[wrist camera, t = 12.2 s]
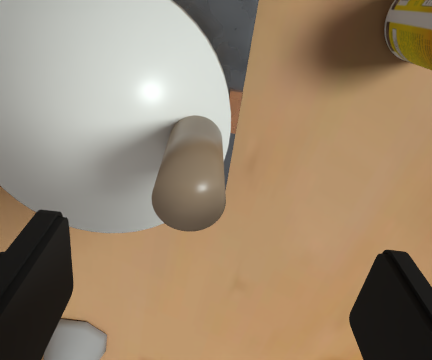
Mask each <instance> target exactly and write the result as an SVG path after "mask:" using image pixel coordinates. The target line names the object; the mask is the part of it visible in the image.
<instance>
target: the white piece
mask: <svg viewBox="0 0 432 360" xmlns="http://www.w3.org/2000/svg"><path fill="white" fill-rule="evenodd" d="M230 132H231V110H230V102H229V94H228V87H227V83H226V79H225V75H224V72H223V69H222V66H221V64H220V61H219V59H218V56H217V54H216V52H215V50H214V49H213V47H212V45H211V43H210V41H209V40H208V38H207V36H206V35H205V34H204V32H203V31H202V30H201V28H200V27H199V26H198V24H197V23H196V22H195V21H194V20H193V19H192V17H191V16H190V15H189V14H188V13H187V12H186V11H185V10H184V9H183V8H182V7H181V6H179V5H178V4H177V3H176V2H174V1H173V0H0V186H1V187H2V188H3V189H4V190H6V191H7V192H8V193H9V194H11V195H12V196H13V197H14V198H15V199H17V200H18V201H19V202H21V203H22V204H24V205H25V206H27V207H28V208H30V209H31V210H33V211H35V212H37V211H38V210H41V209H42V210H51V211H59V212H61V213H62V215H63V217H67V218H68V221H69V226H70V227H73V228H76V229H81V230H86V231H91V232H101V233H126V232H135V231H140V230H144V229H149V228H152V227H155V226H158V225H161V224H163V223H165V224H166V225H168V226H170V227H172V228H174V229H177V230H181V231H199V230H202V229H205V228H207V227H210V226H211V225H213V224H214V223H215V222H216V221H217V220H218V219H219V218H220V217H221V215H222V213H223V211H224V209H225V204H226V196H225V178H224V159H225V156H226V153H227V149H228V145H229V139H230Z"/></svg>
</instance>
